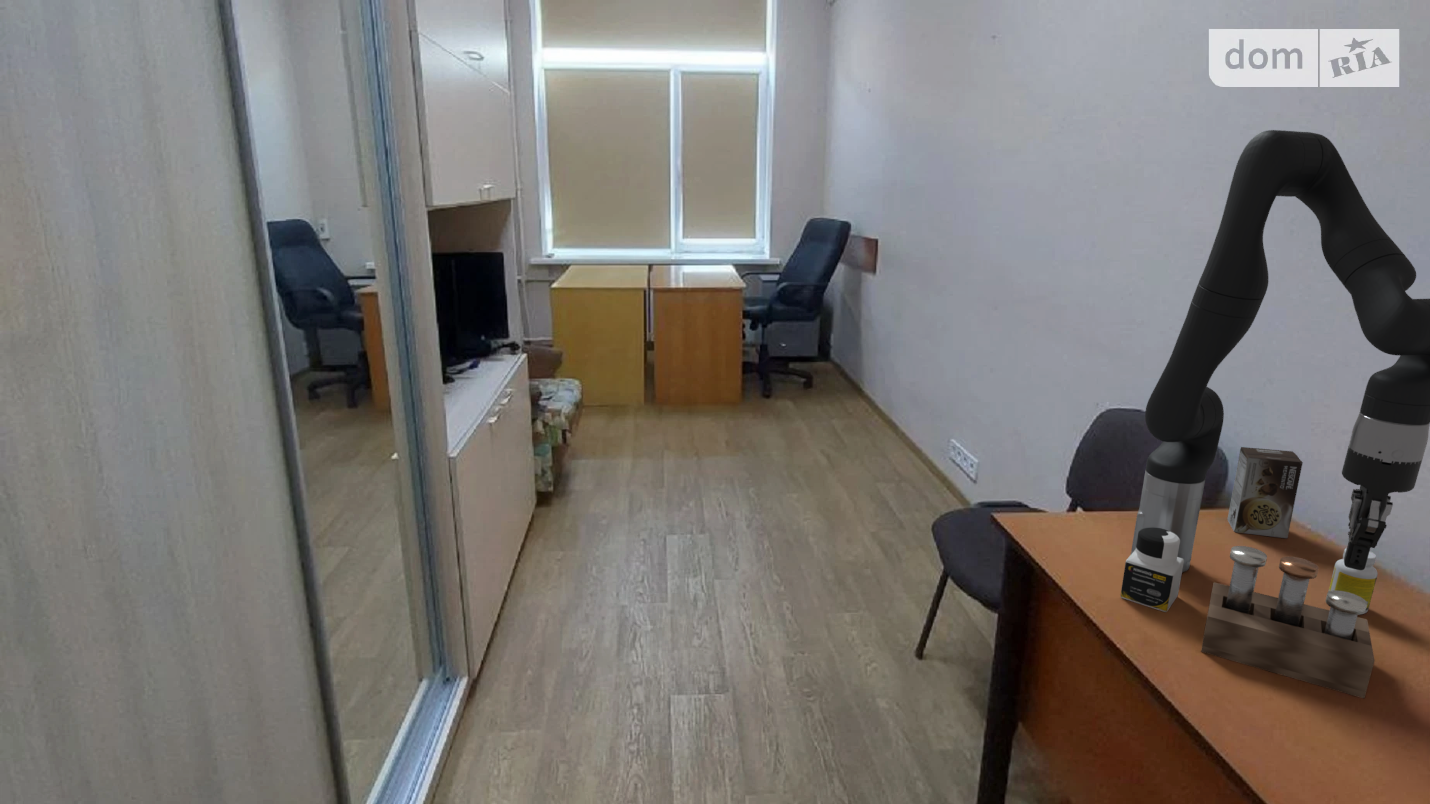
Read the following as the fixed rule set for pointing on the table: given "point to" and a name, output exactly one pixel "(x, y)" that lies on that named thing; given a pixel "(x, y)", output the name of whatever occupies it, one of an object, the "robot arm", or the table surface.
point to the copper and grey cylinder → (1293, 589)
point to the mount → (1289, 643)
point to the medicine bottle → (1153, 569)
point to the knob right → (1343, 613)
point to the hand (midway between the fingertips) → (1353, 566)
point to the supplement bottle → (1355, 579)
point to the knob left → (1244, 577)
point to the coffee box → (1264, 492)
